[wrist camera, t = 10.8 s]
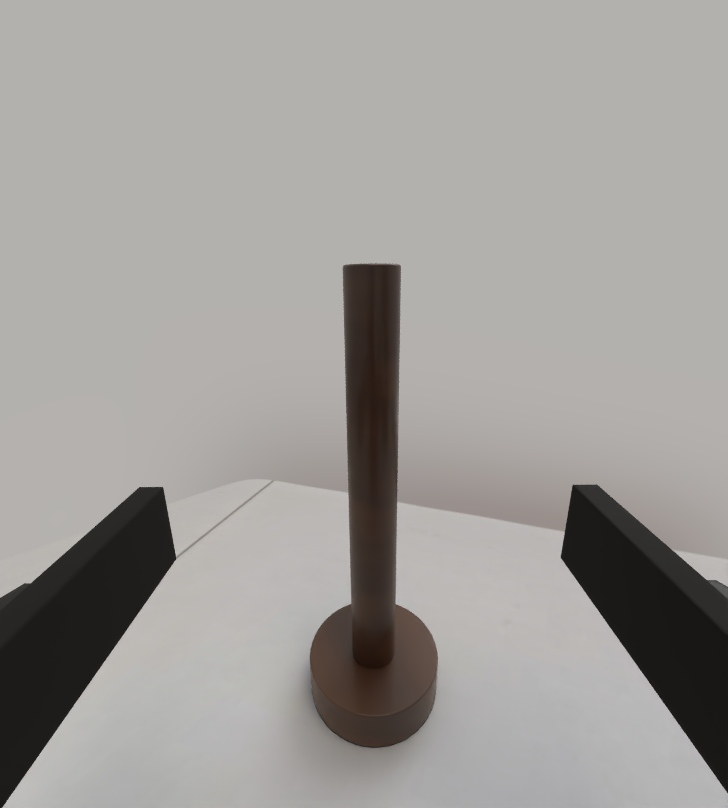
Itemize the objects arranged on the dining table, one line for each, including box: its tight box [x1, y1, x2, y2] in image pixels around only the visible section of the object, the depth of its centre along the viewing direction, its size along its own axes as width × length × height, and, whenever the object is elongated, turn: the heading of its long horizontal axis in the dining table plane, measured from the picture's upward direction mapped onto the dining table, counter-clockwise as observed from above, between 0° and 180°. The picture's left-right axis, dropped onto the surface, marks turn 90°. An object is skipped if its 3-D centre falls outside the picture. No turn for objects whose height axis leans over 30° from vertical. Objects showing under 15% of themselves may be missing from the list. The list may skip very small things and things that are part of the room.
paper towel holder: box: [310, 264, 438, 747], centre depth 16 cm, size 6×6×19 cm
